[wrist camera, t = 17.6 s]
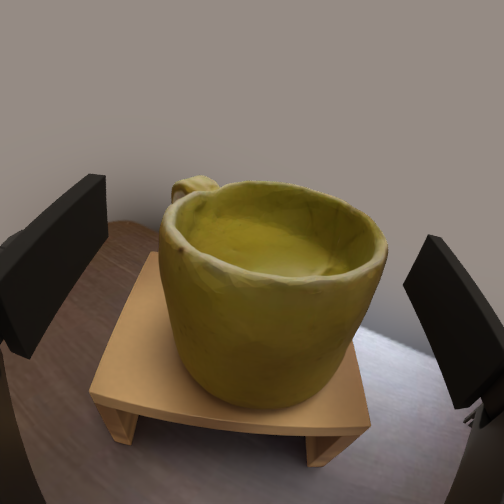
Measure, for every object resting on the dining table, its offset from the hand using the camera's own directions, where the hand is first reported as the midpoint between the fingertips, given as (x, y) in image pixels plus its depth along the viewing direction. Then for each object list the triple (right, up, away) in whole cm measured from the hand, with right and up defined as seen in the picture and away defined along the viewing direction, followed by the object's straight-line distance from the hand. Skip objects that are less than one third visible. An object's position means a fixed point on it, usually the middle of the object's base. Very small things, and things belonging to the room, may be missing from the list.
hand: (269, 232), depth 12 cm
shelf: (-3, -11, +10) cm, 15 cm away
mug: (-2, -5, +6) cm, 8 cm away
